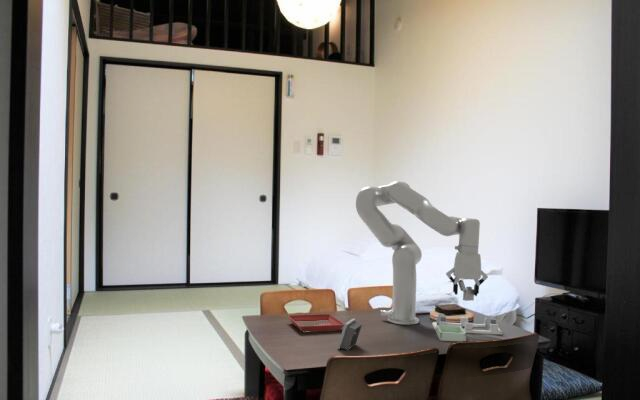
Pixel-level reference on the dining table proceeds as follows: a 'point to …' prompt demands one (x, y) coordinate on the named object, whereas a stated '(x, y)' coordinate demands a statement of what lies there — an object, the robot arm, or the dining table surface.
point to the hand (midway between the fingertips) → (465, 294)
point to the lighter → (466, 291)
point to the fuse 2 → (490, 321)
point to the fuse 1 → (441, 318)
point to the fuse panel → (469, 326)
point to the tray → (450, 333)
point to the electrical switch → (349, 334)
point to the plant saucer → (334, 321)
